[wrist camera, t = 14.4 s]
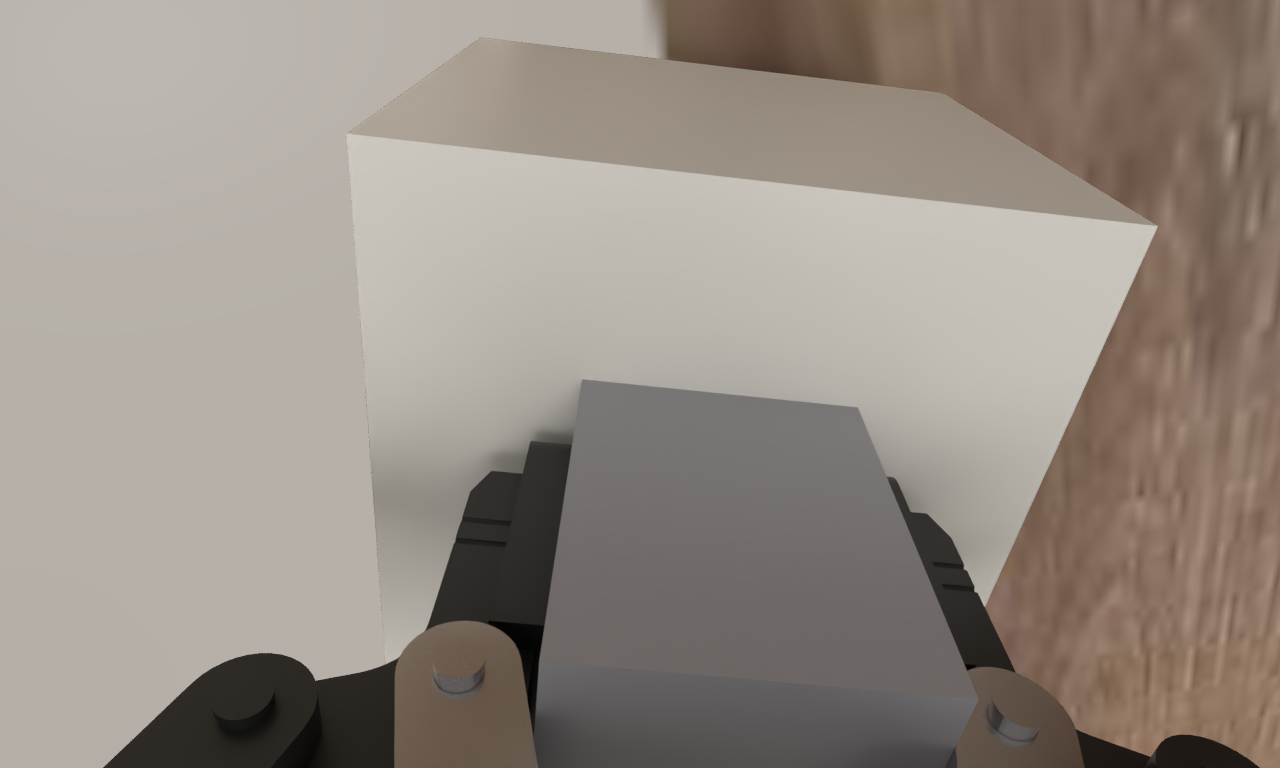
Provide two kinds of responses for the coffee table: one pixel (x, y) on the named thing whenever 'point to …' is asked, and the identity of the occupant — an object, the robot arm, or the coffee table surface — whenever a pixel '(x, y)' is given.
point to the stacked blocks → (722, 382)
